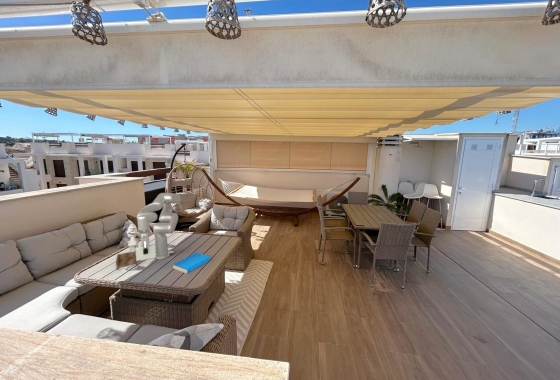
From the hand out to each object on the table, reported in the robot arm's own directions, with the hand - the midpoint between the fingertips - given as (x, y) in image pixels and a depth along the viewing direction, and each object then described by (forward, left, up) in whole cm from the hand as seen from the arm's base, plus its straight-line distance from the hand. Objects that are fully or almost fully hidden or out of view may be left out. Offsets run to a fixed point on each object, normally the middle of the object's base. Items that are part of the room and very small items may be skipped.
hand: (145, 253), depth 175 cm
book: (-33, +7, -16) cm, 37 cm away
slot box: (+14, -20, -15) cm, 29 cm away
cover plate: (0, 0, -5) cm, 5 cm away
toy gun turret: (+9, -36, -15) cm, 40 cm away
